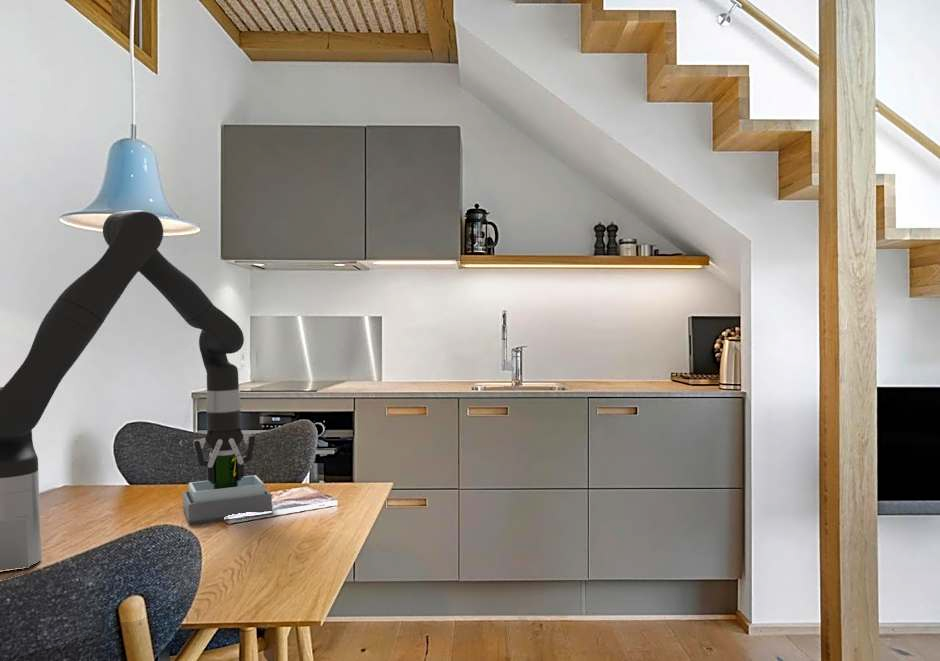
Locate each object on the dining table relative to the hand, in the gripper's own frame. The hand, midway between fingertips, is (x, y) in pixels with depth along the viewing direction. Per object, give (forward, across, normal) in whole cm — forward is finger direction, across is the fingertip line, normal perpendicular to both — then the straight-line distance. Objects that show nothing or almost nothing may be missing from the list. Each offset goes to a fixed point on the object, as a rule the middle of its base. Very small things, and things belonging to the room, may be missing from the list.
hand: (225, 481), depth 175 cm
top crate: (+7, 0, 0) cm, 7 cm away
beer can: (+5, 0, 0) cm, 5 cm away
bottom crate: (+7, 0, 0) cm, 7 cm away
